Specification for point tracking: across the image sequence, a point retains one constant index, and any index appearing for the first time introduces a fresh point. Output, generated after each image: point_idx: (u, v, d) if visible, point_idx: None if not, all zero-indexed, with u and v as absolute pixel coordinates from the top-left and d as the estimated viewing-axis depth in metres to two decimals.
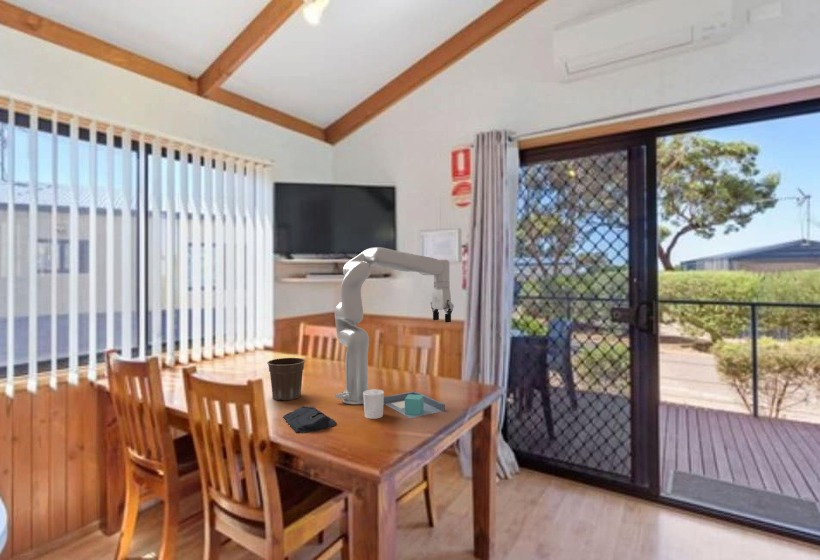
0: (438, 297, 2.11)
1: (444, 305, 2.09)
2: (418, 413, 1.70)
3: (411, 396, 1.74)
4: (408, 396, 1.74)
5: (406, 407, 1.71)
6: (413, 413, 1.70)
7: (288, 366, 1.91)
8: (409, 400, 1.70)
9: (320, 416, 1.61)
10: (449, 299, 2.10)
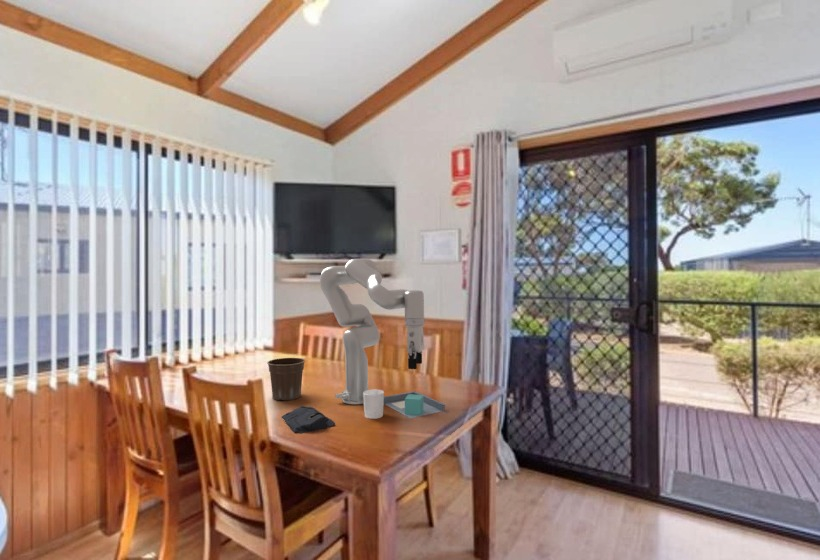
0: (422, 336, 1.74)
1: None
2: (418, 413, 1.70)
3: (411, 396, 1.74)
4: (408, 396, 1.74)
5: (406, 407, 1.71)
6: (413, 413, 1.70)
7: (288, 366, 1.91)
8: (409, 400, 1.70)
9: (318, 416, 1.60)
10: None
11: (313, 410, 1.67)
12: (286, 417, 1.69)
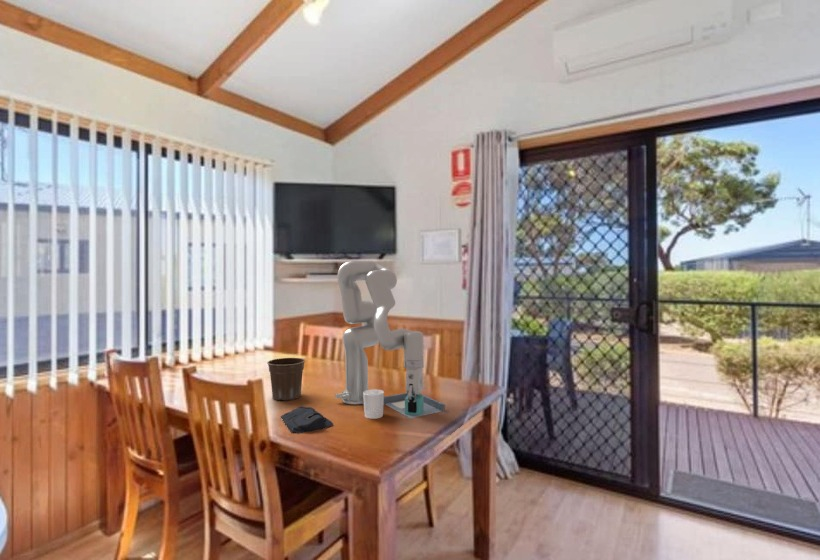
0: (421, 377, 1.73)
1: None
2: (418, 413, 1.70)
3: None
4: None
5: (406, 407, 1.71)
6: (413, 413, 1.70)
7: (288, 366, 1.91)
8: None
9: (316, 417, 1.60)
10: None
11: (311, 410, 1.67)
12: (285, 417, 1.69)
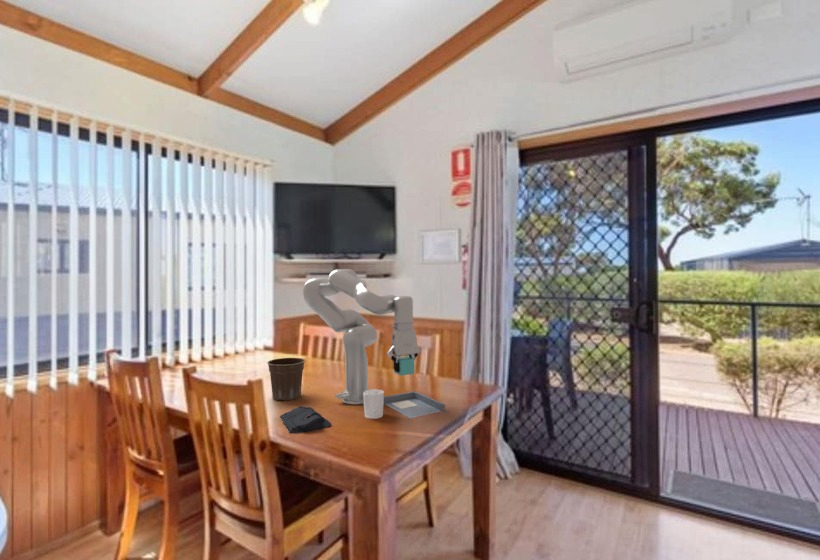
0: (410, 340, 1.80)
1: None
2: (400, 373, 1.79)
3: (404, 357, 1.83)
4: (401, 357, 1.84)
5: None
6: (398, 373, 1.80)
7: (288, 366, 1.91)
8: None
9: (314, 417, 1.60)
10: None
11: (310, 410, 1.67)
12: (284, 417, 1.70)
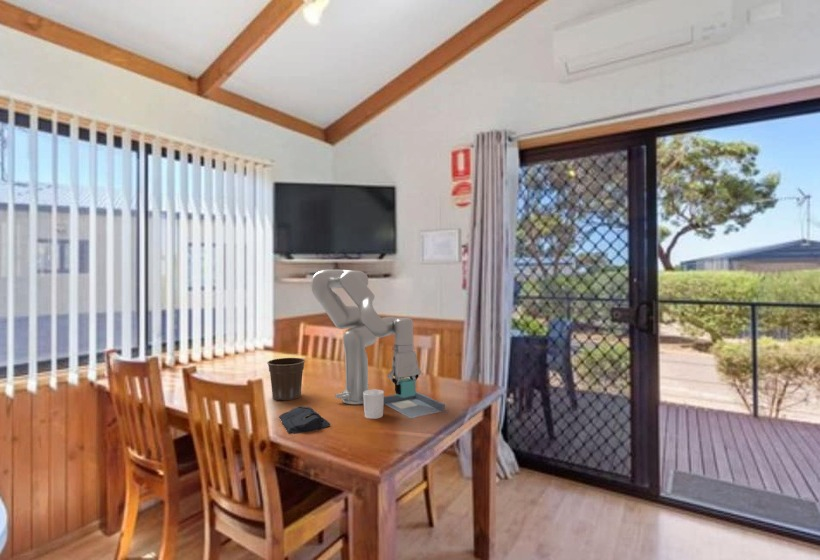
0: (410, 362, 1.80)
1: None
2: (401, 395, 1.79)
3: (405, 379, 1.84)
4: (402, 379, 1.84)
5: None
6: (399, 395, 1.80)
7: (288, 366, 1.91)
8: None
9: (313, 417, 1.60)
10: None
11: (309, 410, 1.67)
12: (283, 417, 1.70)
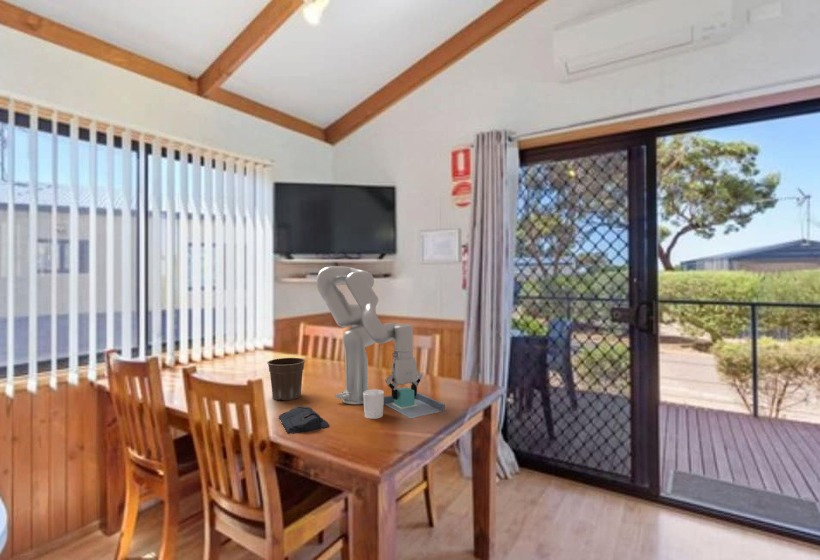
0: (410, 369, 1.80)
1: None
2: (400, 405, 1.79)
3: (404, 388, 1.84)
4: (401, 388, 1.84)
5: None
6: (398, 404, 1.81)
7: (288, 366, 1.91)
8: None
9: (312, 417, 1.60)
10: None
11: (308, 411, 1.67)
12: (282, 417, 1.70)
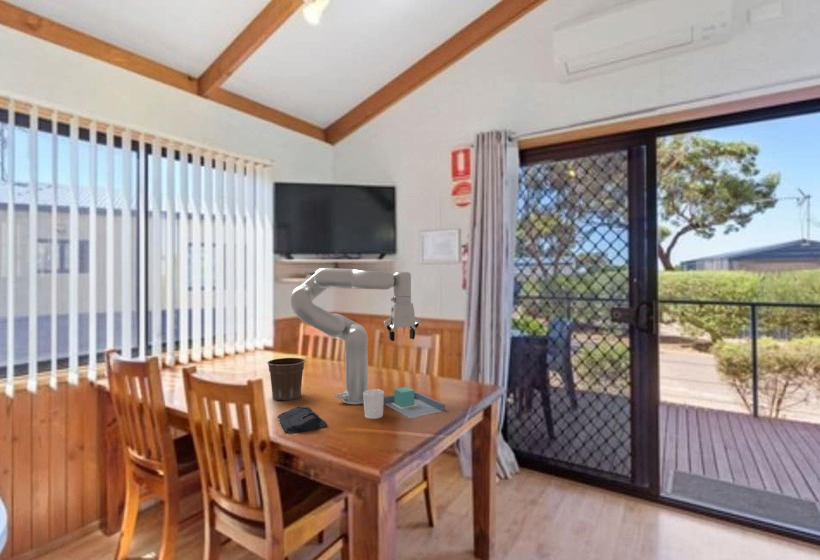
0: (407, 313, 1.92)
1: (414, 321, 1.94)
2: (400, 405, 1.79)
3: (404, 388, 1.84)
4: (401, 388, 1.84)
5: (394, 397, 1.83)
6: (398, 404, 1.81)
7: (288, 366, 1.91)
8: (396, 391, 1.82)
9: (310, 417, 1.60)
10: None
11: (307, 411, 1.67)
12: (281, 417, 1.70)
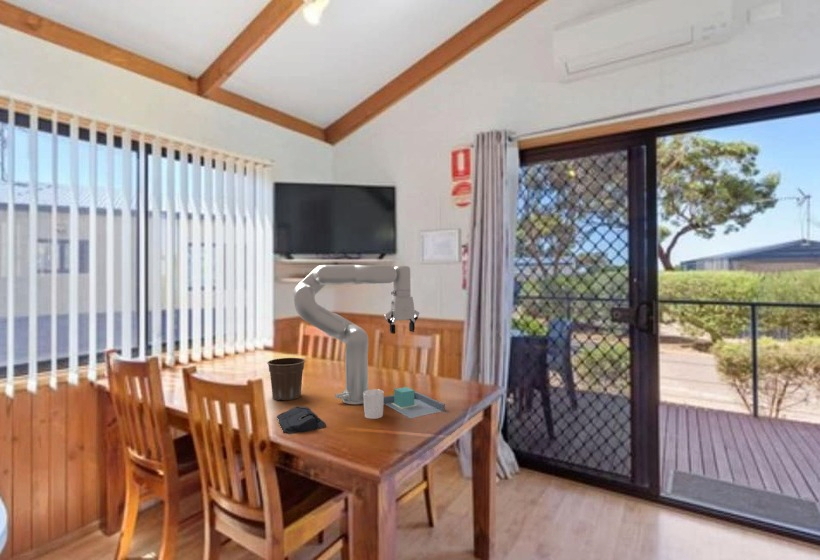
0: (407, 306, 1.95)
1: None
2: (400, 405, 1.79)
3: (404, 388, 1.84)
4: (401, 388, 1.84)
5: (394, 397, 1.83)
6: (398, 404, 1.81)
7: (288, 366, 1.91)
8: (396, 391, 1.82)
9: (309, 417, 1.60)
10: None
11: (306, 411, 1.67)
12: (280, 417, 1.70)
